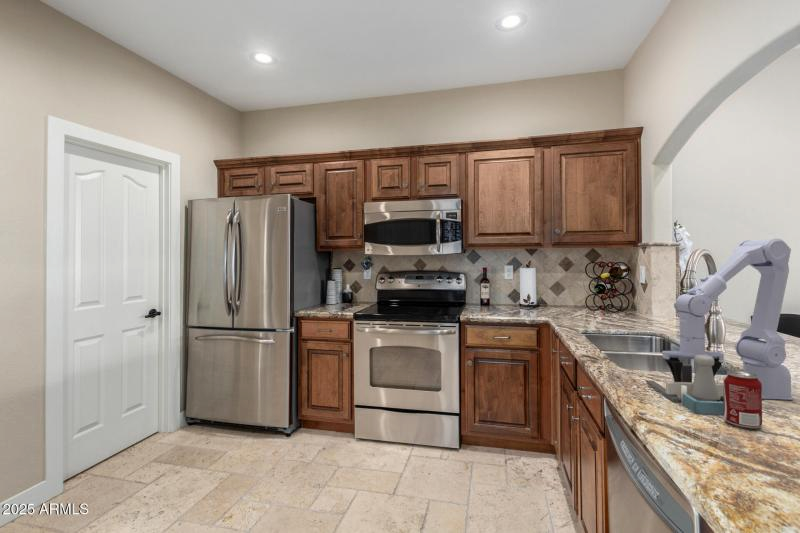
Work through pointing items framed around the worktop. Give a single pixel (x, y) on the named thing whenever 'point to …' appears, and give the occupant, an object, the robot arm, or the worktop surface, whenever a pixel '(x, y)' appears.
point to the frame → (701, 404)
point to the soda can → (742, 399)
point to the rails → (663, 392)
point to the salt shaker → (704, 379)
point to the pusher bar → (687, 383)
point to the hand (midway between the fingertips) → (692, 384)
